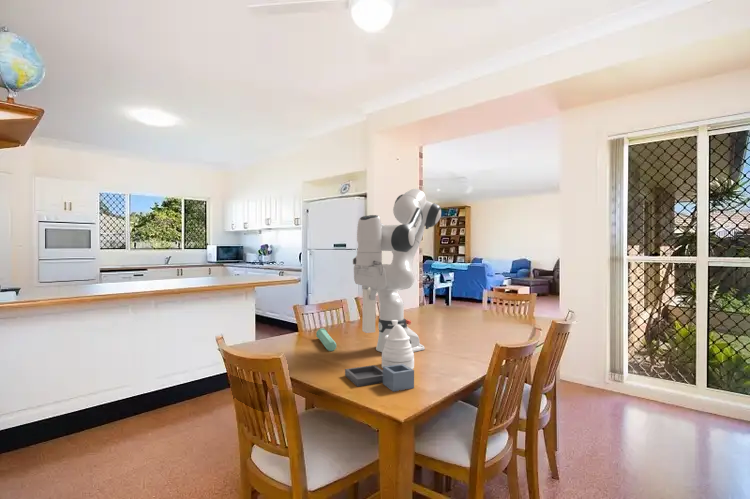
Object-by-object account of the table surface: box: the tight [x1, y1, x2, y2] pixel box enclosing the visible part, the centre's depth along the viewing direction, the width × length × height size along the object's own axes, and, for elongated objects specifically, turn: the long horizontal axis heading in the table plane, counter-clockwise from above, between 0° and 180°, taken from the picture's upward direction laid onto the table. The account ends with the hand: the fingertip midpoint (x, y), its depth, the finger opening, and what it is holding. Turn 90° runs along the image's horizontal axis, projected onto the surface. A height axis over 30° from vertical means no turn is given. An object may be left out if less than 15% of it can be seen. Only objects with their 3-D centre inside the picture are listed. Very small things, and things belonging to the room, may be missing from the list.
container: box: [315, 327, 337, 352], centre depth 190 cm, size 6×6×25 cm
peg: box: [361, 288, 377, 334], centre depth 142 cm, size 4×4×15 cm
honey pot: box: [381, 320, 415, 370], centre depth 157 cm, size 13×13×18 cm
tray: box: [344, 364, 383, 388], centre depth 143 cm, size 12×12×2 cm
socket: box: [382, 364, 415, 392], centre depth 135 cm, size 8×8×6 cm
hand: (369, 299), depth 142 cm, fingers closed on peg, 3 cm apart
